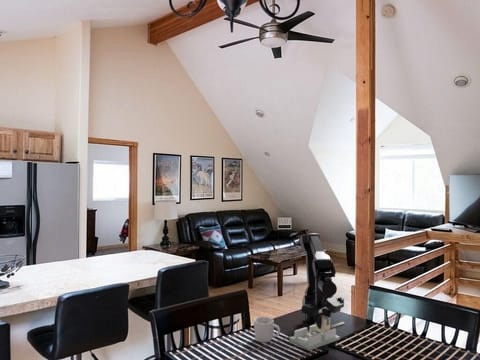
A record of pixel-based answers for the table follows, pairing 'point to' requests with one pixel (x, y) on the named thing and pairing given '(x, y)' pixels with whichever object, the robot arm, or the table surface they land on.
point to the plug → (323, 324)
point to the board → (313, 337)
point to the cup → (265, 329)
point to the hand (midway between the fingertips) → (322, 327)
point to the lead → (337, 325)
